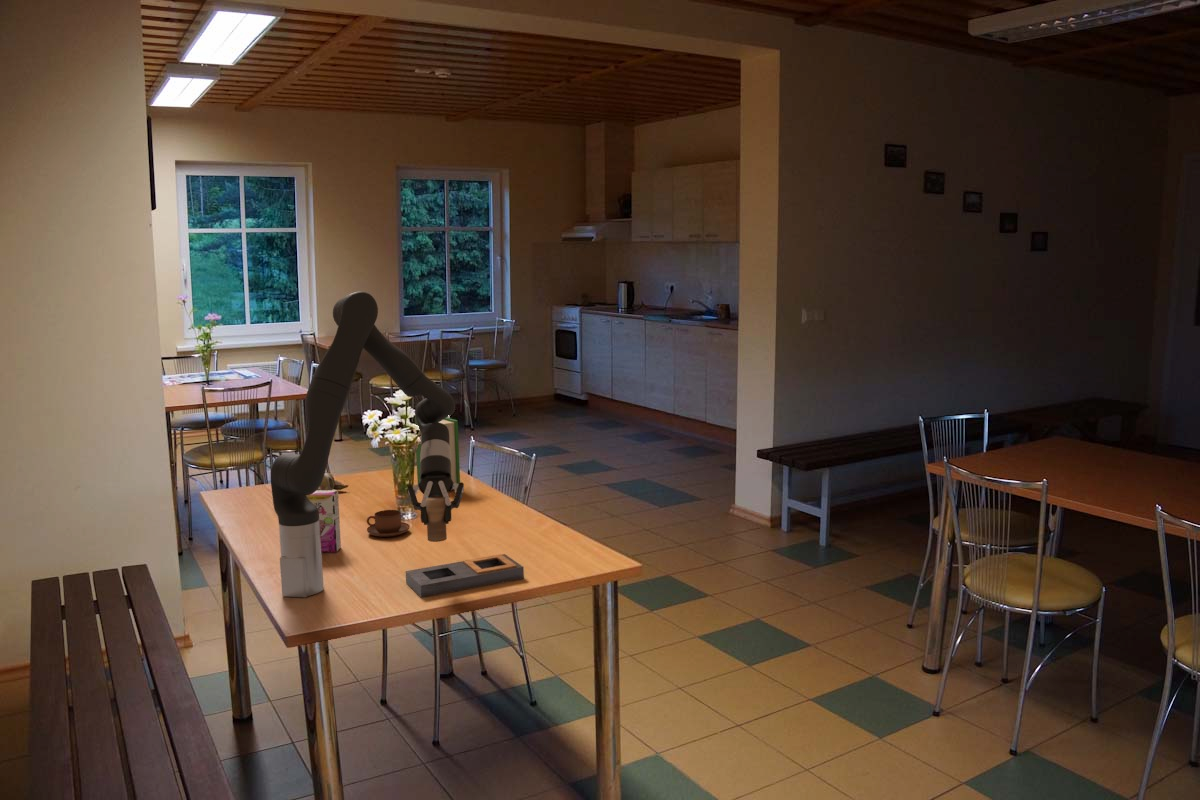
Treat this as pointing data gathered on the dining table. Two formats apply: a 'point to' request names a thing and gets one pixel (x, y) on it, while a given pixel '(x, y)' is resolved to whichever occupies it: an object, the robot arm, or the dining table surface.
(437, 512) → the walnut peg
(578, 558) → the dining table surface
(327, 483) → the ceramic sculpture
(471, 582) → the grey peg board
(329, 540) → the candy bar box
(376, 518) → the cup and saucer
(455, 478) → the hardback book
